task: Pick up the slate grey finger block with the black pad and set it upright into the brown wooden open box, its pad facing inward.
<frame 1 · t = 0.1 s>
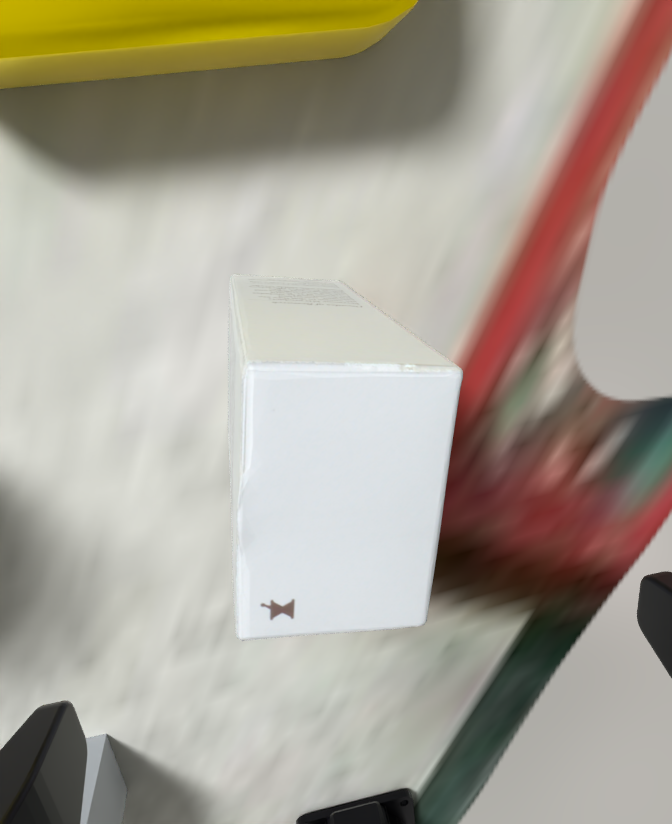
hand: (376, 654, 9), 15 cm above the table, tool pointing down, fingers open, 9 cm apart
finger block: (74, 772, 28), on the table
skincare box: (284, 350, 22), on the table
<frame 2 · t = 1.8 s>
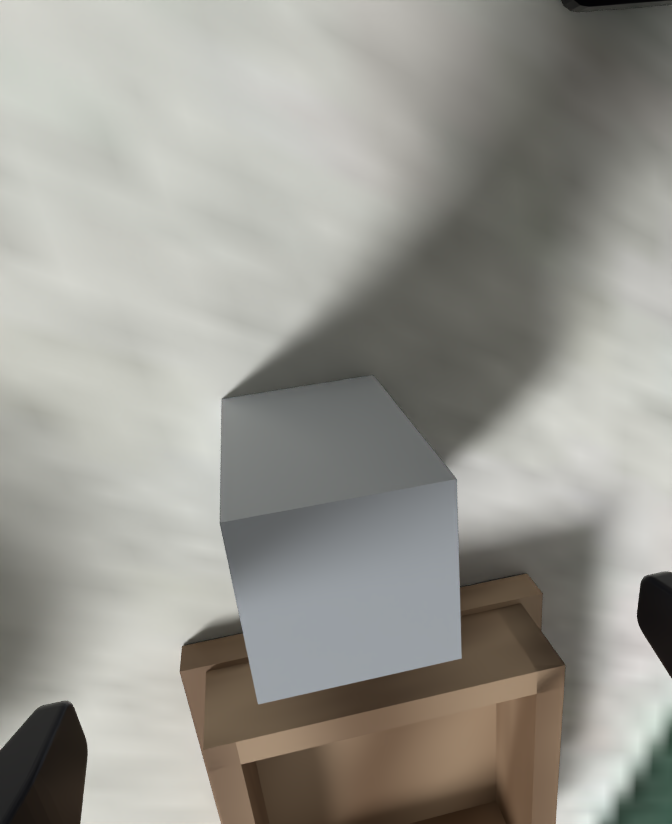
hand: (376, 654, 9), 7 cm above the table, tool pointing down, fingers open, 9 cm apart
finger block: (307, 454, 16), on the table
brown wooden open box: (379, 773, 21), on the table
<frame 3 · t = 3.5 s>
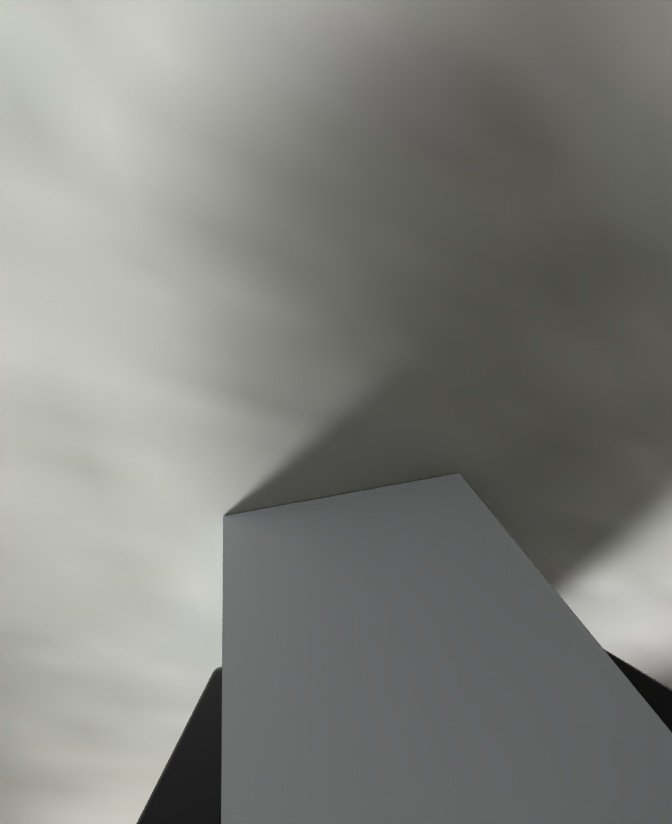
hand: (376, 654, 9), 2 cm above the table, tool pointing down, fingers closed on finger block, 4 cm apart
finger block: (355, 590, 10), on the table, touching gripper
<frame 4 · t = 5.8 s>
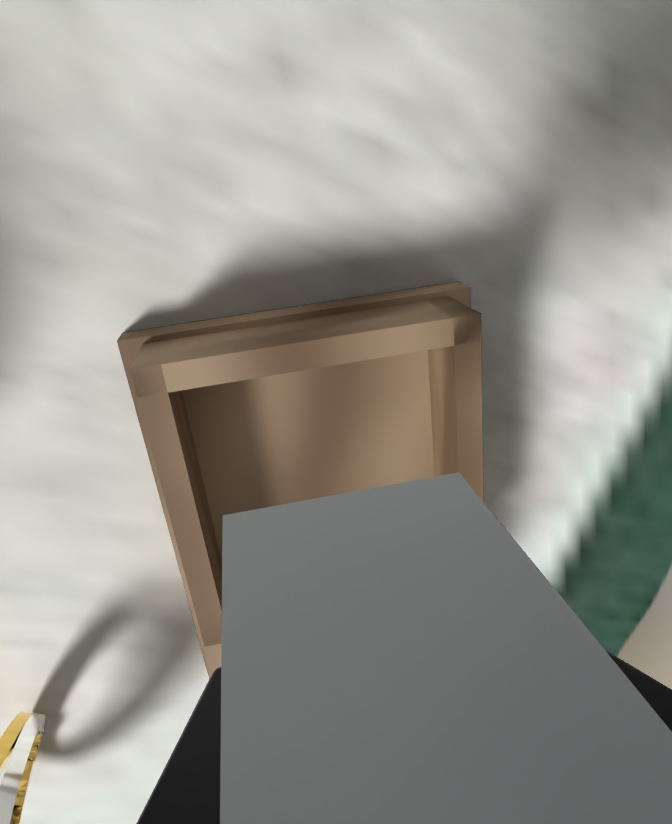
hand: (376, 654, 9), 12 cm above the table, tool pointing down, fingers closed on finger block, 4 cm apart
finger block: (354, 590, 10), point 10 cm above the table, touching gripper
brown wooden open box: (324, 503, 22), on the table
ring: (34, 727, 23), on the table
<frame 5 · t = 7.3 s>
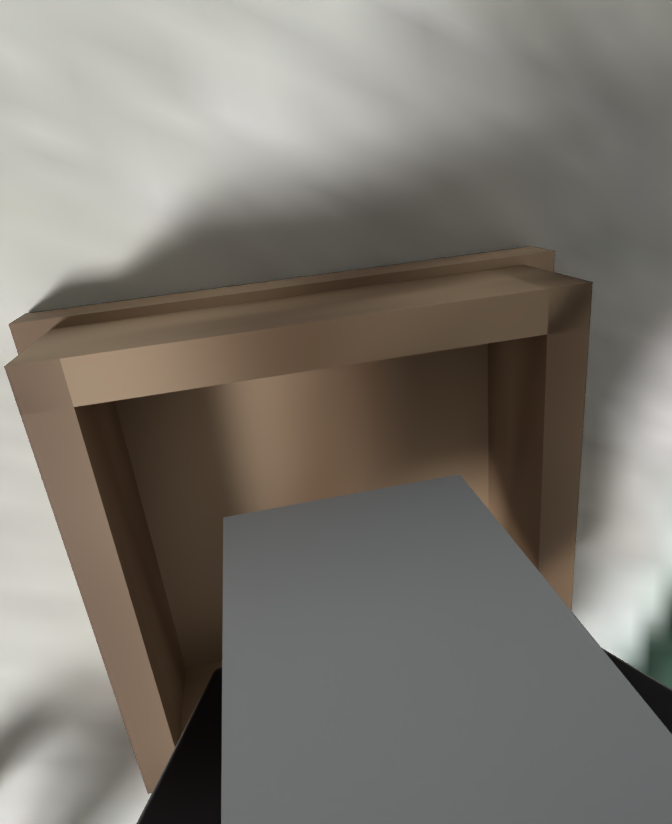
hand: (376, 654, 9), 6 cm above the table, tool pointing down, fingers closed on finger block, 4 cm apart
finger block: (355, 592, 10), point 4 cm above the table, touching gripper
brown wooden open box: (329, 563, 15), on the table
when the fingers open (4 cm above the table, at t = 8.4 s): finger block drops 2 cm, resting on brown wooden open box.
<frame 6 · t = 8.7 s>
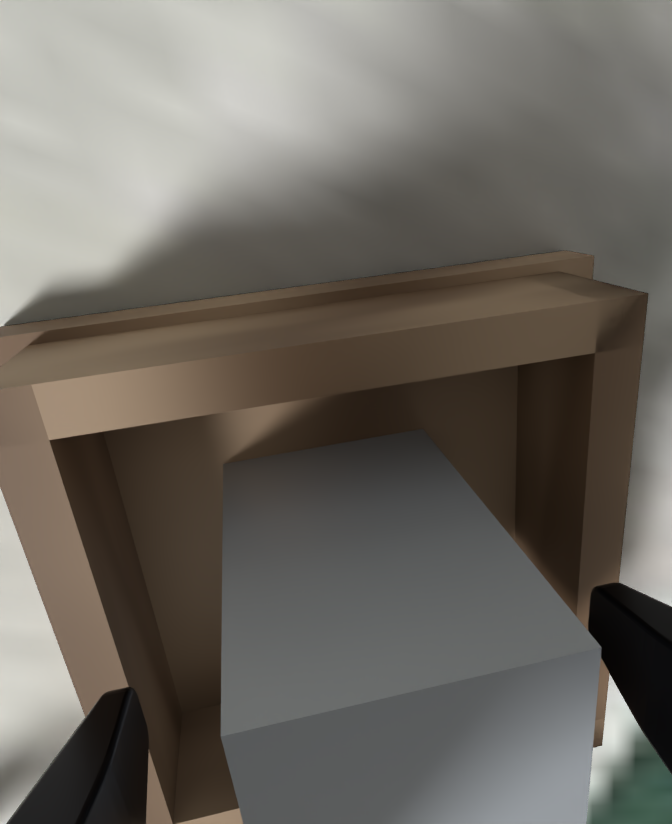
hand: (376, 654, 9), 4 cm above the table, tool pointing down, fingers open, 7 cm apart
finger block: (336, 531, 12), point 1 cm above the table, touching brown wooden open box
brown wooden open box: (339, 596, 14), on the table
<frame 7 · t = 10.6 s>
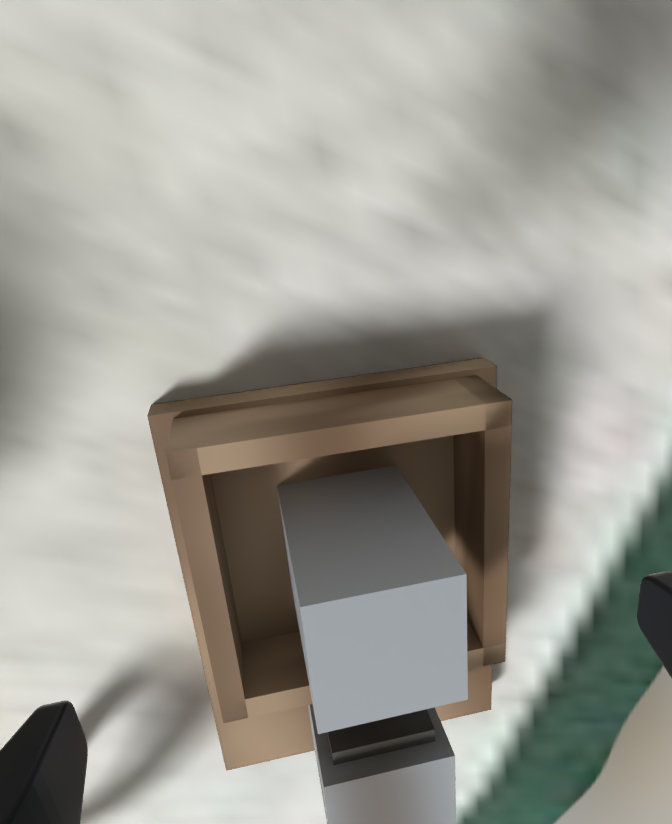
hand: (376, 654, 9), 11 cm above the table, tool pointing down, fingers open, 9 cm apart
finger block: (342, 527, 20), point 1 cm above the table, touching brown wooden open box
brown wooden open box: (343, 570, 21), on the table
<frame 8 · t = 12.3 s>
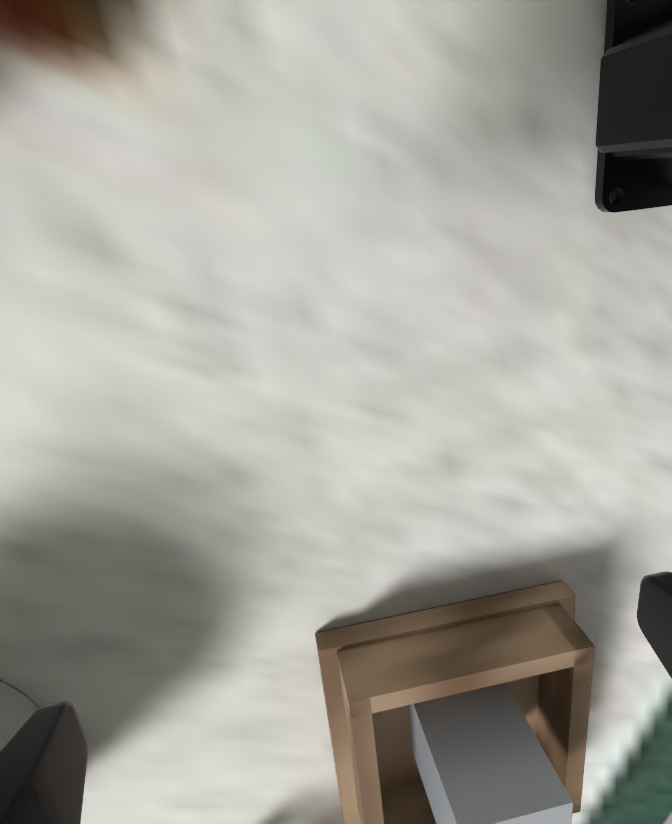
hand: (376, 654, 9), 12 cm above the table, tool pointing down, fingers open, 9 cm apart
finger block: (453, 710, 25), point 1 cm above the table, touching brown wooden open box
brown wooden open box: (447, 731, 27), on the table
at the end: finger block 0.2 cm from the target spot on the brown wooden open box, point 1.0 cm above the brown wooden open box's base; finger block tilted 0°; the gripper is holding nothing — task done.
